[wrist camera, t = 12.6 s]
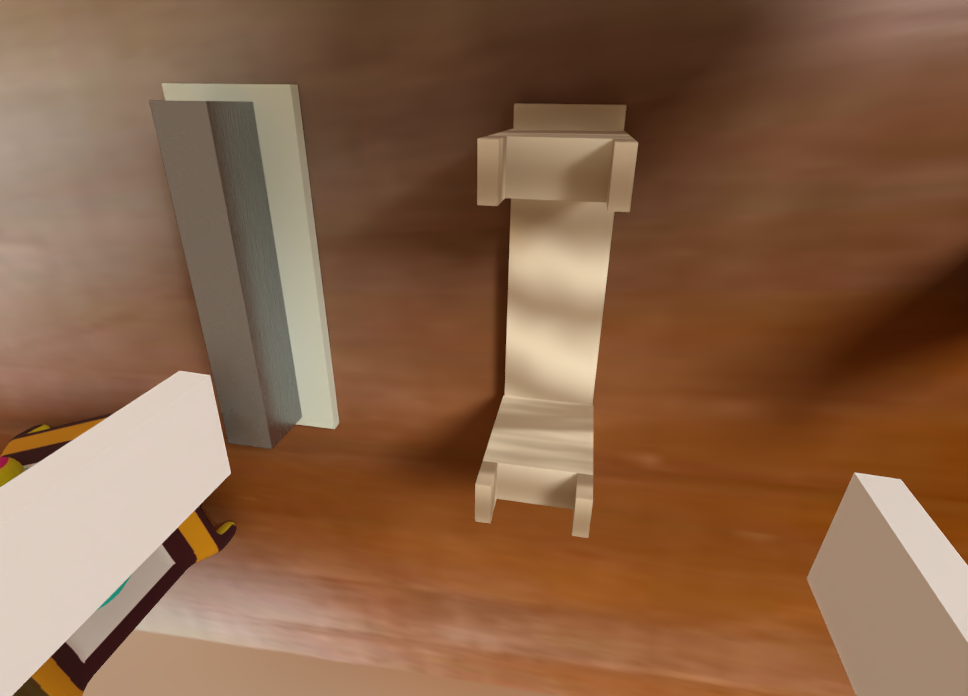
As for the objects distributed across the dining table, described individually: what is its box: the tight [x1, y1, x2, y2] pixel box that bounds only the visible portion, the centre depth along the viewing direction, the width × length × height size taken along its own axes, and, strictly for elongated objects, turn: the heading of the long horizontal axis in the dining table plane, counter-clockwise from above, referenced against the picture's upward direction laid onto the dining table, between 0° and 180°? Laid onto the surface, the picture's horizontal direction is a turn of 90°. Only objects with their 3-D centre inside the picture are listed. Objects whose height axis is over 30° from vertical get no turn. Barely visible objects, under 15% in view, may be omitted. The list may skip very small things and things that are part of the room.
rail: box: [149, 100, 302, 449], centre depth 40 cm, size 26×4×5 cm, turn 179°
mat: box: [161, 83, 339, 429], centre depth 43 cm, size 28×10×1 cm, turn 179°
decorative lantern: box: [0, 413, 236, 696], centre depth 43 cm, size 20×20×30 cm
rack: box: [475, 103, 638, 538], centre depth 34 cm, size 26×7×12 cm, turn 179°
